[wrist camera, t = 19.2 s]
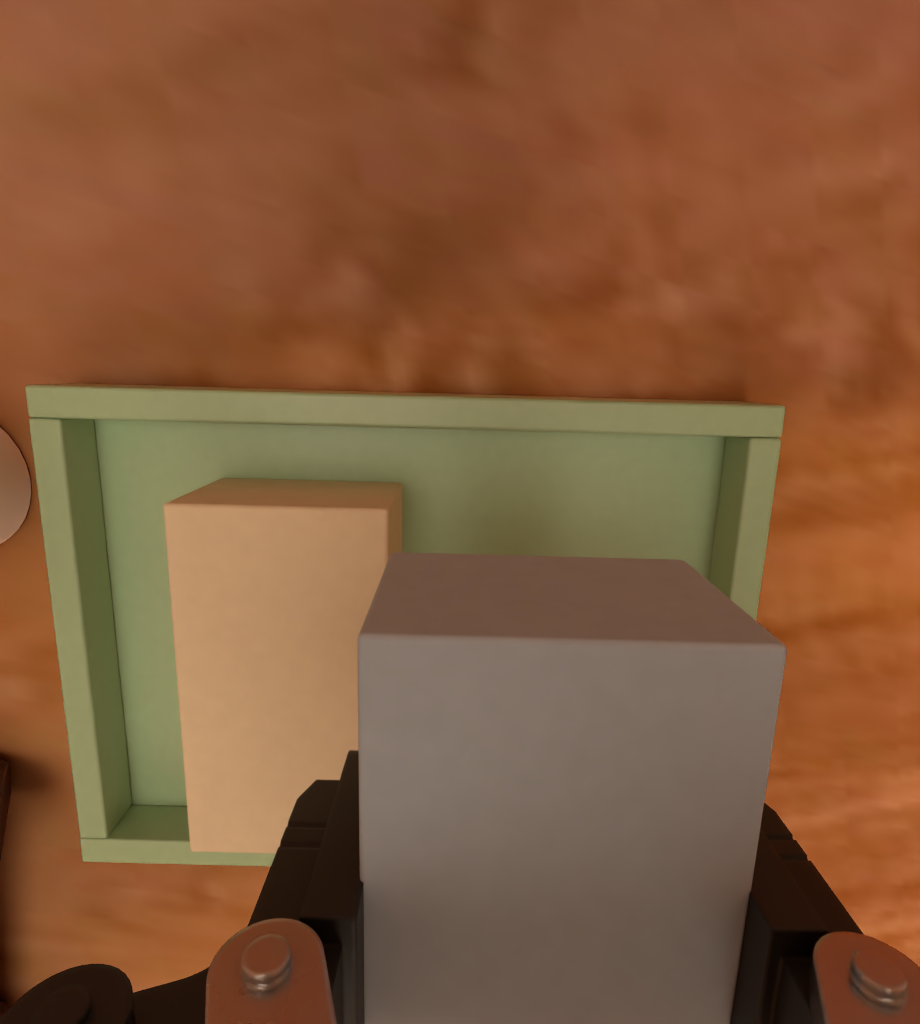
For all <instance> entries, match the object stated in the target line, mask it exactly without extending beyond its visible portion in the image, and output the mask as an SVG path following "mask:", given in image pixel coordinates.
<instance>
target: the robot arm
mask: <svg viewBox="0 0 920 1024" xmlns="http://www.w3.org/2000/svg"><path fill="white" fill-rule="evenodd" d="M364 1022H365V1019H364V889H363V882H362V881H361V880H360V858H359V752H358V750H349V752H348V754H347V757H346V761H345V764H344V767H343V771H342V774H341V777H340V780H315V781H314V782H313V783H312V784H311V785H310V786H309V787H308V788H307V789H306V790H305V791H304V792H303V793H302V794H301V795H300V796H299V797H298V798H297V800H296V803H295V805H294V808H293V810H292V813H291V816H290V818H289V821H288V826H287V827H286V829H285V831H284V834H283V836H282V839H281V842H280V847H278V849H277V852H276V855H275V857H274V860H273V862H272V865H271V868H270V870H269V873H268V875H267V878H266V881H265V883H264V886H263V888H262V891H261V893H260V896H259V899H258V901H257V904H256V906H255V909H254V912H253V914H252V917H251V919H250V922H249V924H248V926H247V927H246V928H244V929H242V930H241V931H239V932H238V933H236V934H235V935H234V936H233V937H231V938H230V939H229V940H228V941H227V942H226V943H225V944H224V945H223V946H222V947H221V948H220V950H219V951H218V952H217V954H216V955H215V957H214V959H213V961H212V963H211V965H210V967H208V968H207V969H205V970H203V971H201V972H199V973H197V974H195V975H192V976H190V977H187V978H184V979H181V980H178V981H174V982H170V983H167V984H163V985H160V986H156V987H152V988H149V989H145V990H142V991H138V992H134V993H133V991H132V985H131V983H130V980H129V978H128V977H127V976H126V974H125V973H124V972H122V971H121V970H120V969H118V968H116V967H113V966H111V965H105V964H88V965H81V966H77V967H74V968H70V969H67V970H65V971H62V972H60V973H57V974H55V975H53V976H51V977H50V978H48V979H46V980H44V981H43V982H41V983H39V984H38V985H36V986H35V987H33V988H32V989H31V990H29V991H28V992H27V993H26V994H24V995H23V996H22V997H21V998H20V999H19V1000H18V1001H17V1002H16V1003H15V1004H14V1005H12V1007H11V1008H10V1009H9V1010H8V1011H7V1012H6V1013H5V1014H4V1015H3V1016H2V1017H1V1018H0V1024H364ZM730 1024H920V967H919V966H918V965H917V964H916V963H914V962H913V961H912V960H911V959H909V958H908V957H907V956H905V955H904V954H902V953H901V952H899V951H898V950H896V949H895V948H893V947H891V946H889V945H888V944H886V943H884V942H881V941H879V940H877V939H875V938H872V937H869V936H866V935H864V934H863V933H862V932H861V930H860V929H859V927H858V926H857V925H856V923H855V922H854V920H853V919H852V918H851V916H850V915H849V913H848V912H847V911H846V909H845V908H844V906H843V905H842V904H841V902H840V901H839V900H838V898H837V897H836V895H835V894H834V893H833V891H832V890H831V888H830V887H829V886H828V884H827V883H826V881H825V880H824V879H823V877H822V876H821V874H820V873H819V872H818V870H817V869H816V868H815V866H814V865H813V863H812V862H811V861H808V860H807V855H806V854H805V852H804V851H803V849H802V848H801V847H800V845H799V844H798V842H797V841H796V840H793V837H792V834H791V833H790V831H789V830H788V829H787V827H786V826H785V824H784V823H783V822H782V820H781V819H780V817H779V816H778V815H777V813H776V812H775V811H774V810H773V809H771V808H770V807H769V806H768V805H766V804H765V803H764V807H763V813H762V820H761V827H760V833H759V840H758V847H757V853H756V860H755V867H754V873H753V880H752V887H751V891H750V895H749V901H748V908H747V915H746V921H745V928H744V935H743V941H742V948H741V955H740V961H739V968H738V975H737V981H736V988H735V995H734V1001H733V1008H732V1015H731V1021H730Z"/></svg>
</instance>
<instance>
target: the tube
mask: <svg viewBox="0 0 920 1024" xmlns="http://www.w3.org/2000/svg"><path fill="white" fill-rule="evenodd" d="M30 498H31V484H30V476H29V473H28V469H27V465H26V463H25V461H24V459H23V456H22V454H21V452H20V450H19V449H18V447H17V446H16V444H15V443H14V442H13V440H12V439H11V438H10V436H9V435H8V434H7V433H6V432H5V431H4V430H3V429H2V428H0V544H1V543H3V542H5V541H6V540H8V539H9V538H10V537H11V536H12V535H13V534H14V533H15V532H16V531H17V530H18V529H19V528H20V526H21V524H22V523H23V521H24V519H25V518H26V515H27V512H28V509H29V506H30Z"/></svg>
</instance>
